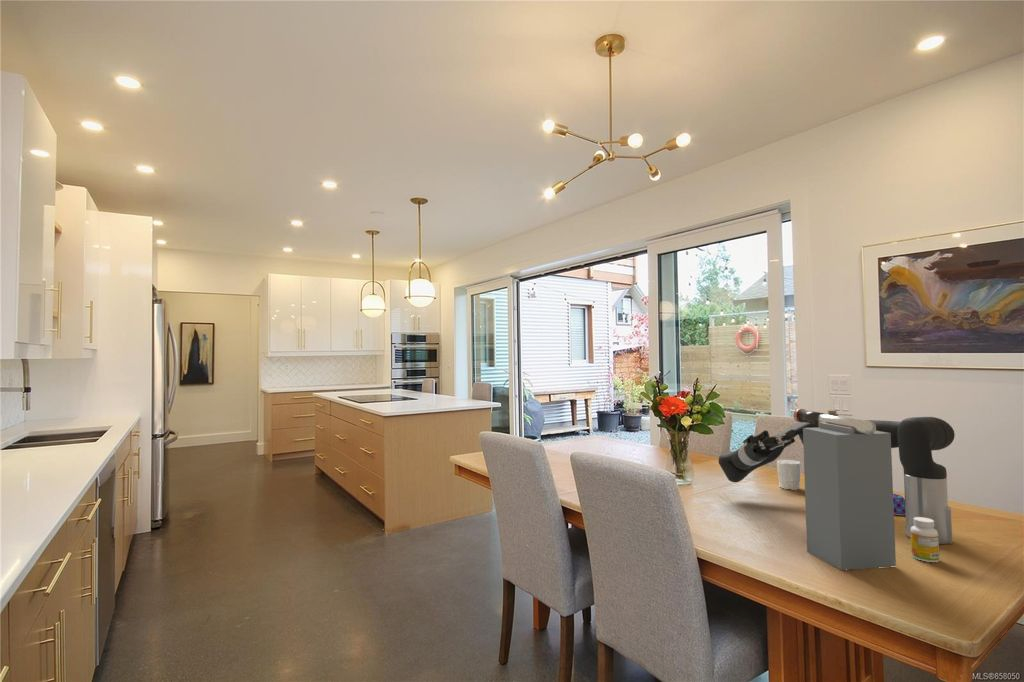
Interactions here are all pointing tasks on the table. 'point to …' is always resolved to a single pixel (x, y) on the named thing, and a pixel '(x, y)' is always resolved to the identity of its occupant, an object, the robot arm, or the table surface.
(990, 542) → the table surface
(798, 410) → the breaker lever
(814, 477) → the tall grey box
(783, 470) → the white cup
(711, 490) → the table surface
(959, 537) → the table surface
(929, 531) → the supplement bottle
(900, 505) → the pudding
